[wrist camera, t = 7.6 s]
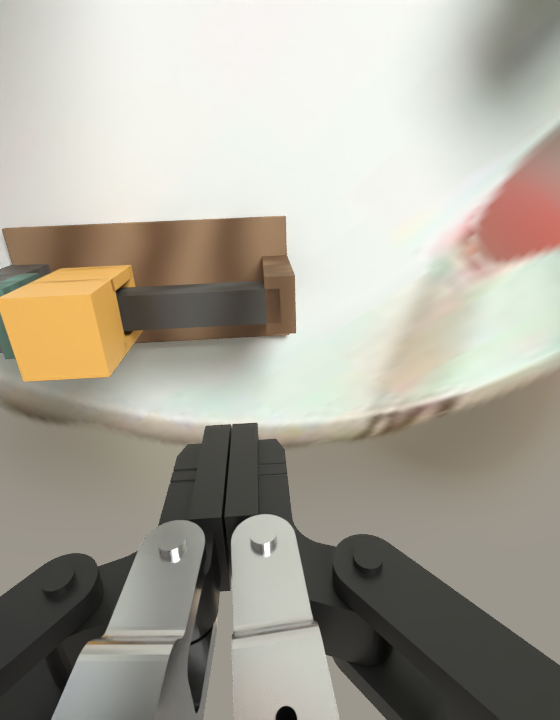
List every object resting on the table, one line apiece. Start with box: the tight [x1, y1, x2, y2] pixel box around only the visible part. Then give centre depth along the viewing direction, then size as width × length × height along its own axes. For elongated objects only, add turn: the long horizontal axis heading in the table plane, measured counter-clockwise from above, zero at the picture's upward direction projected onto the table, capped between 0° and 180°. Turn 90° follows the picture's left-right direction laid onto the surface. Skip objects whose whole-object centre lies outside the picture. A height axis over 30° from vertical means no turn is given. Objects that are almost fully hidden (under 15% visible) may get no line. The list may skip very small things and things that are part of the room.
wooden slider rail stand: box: [0, 216, 296, 359], centre depth 30 cm, size 22×10×9 cm, turn 92°
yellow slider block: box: [0, 265, 143, 382], centre depth 27 cm, size 5×5×8 cm
